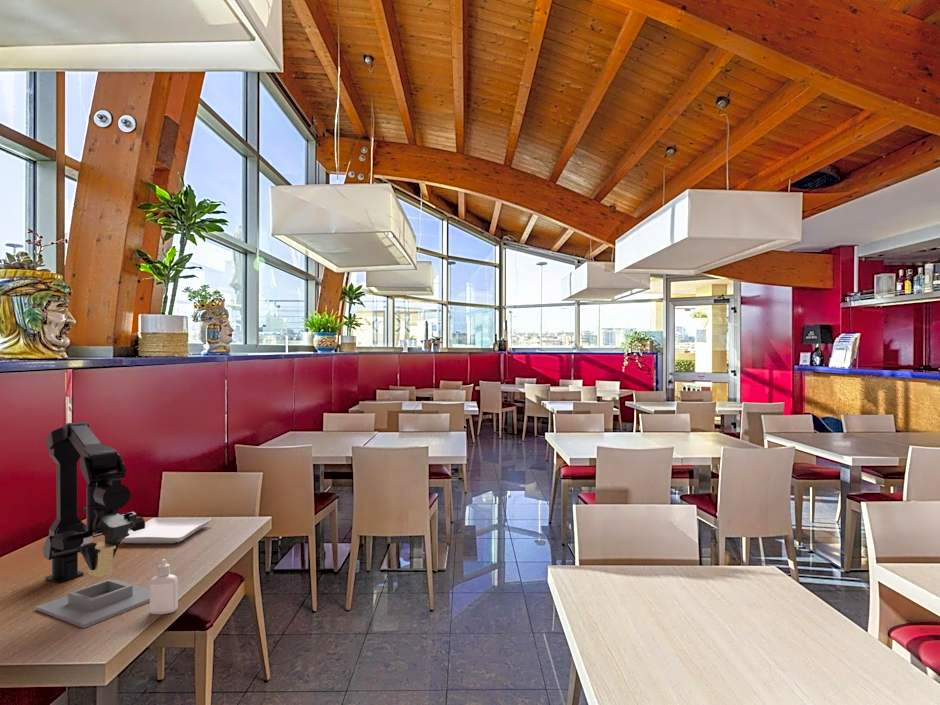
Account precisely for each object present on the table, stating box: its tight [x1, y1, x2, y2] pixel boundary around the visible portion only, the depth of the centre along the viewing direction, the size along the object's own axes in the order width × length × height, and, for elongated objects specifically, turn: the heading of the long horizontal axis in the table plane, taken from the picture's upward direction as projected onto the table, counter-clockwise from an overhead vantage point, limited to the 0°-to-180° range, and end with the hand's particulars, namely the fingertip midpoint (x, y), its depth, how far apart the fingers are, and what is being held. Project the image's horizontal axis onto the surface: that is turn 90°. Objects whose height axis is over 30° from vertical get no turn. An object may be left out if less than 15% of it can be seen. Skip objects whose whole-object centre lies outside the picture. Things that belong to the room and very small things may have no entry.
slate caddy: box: [35, 578, 150, 629], centre depth 133 cm, size 20×18×3 cm
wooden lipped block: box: [87, 541, 116, 579], centre depth 133 cm, size 6×4×7 cm, turn 63°
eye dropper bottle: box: [149, 558, 179, 615], centre depth 128 cm, size 4×6×12 cm
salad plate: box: [120, 517, 212, 544], centre depth 184 cm, size 21×21×3 cm
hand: (100, 567), depth 133 cm, fingers closed on wooden lipped block, 3 cm apart
